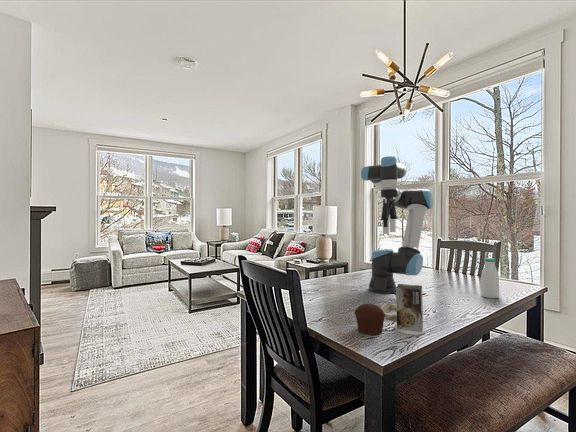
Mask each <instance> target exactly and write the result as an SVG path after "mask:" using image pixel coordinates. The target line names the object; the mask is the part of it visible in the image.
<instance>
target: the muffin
mask: <svg viewBox="0 0 576 432" xmlns="http://www.w3.org/2000/svg"><path fill="white" fill-rule="evenodd" d="M353 313H354V316H355V318H356V324H357V330H358V332H359V334H360V333H361V334H362V335H365V336H370V337H373V336H379V335H380V334H382V333H383V328H384V321H385V319H384V317H385V313H384V312H383V310H382V309H381V307H380V306H378V305H377V304H373V303H363V304H360V305H358V306H357V308H355V310H354V312H353Z"/></svg>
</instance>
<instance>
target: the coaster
mask: <svg viewBox="0 0 576 432" xmlns="http://www.w3.org/2000/svg"><path fill="white" fill-rule="evenodd" d="M394 329H395V330H396V331H397V332H399V333H402V334H405V335H411V336H418V335H424V334H425V333H426V327H424V326H423V330H422V332H418V331H411V330H404V329H397V323H396V324H394Z"/></svg>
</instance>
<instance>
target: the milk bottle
mask: <svg viewBox="0 0 576 432" xmlns="http://www.w3.org/2000/svg"><path fill="white" fill-rule="evenodd" d="M484 263H485V264H484V267H483V268H482V271H481V275H480V276H481V279H480V280H481V281H480V282H481V284H480V285H481V286H480V289H481V296H482V297H483V298H487V299H488V298H489V299H499V297H500V275H499V271H498V270H497V269H498V268H497V267H496V258H493V257H485V258H484Z"/></svg>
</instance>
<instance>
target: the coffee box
mask: <svg viewBox="0 0 576 432" xmlns="http://www.w3.org/2000/svg"><path fill="white" fill-rule="evenodd" d="M395 293H396V294H395V295H396V299H395V300H396V303H395V304H397V310H396V315H397V321H396V324H397V329H404V330H411V331H418V332H422V330H423V327H424V319H423V318H424V317H423V316H424V314H423V312H424V310H423V307H424V306H423V304H424V303H423V285H418V284H405V283H397V285H396V292H395Z"/></svg>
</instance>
